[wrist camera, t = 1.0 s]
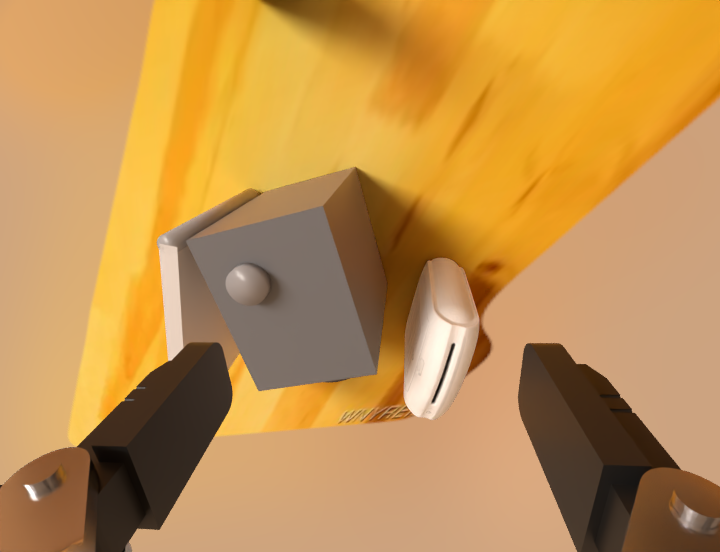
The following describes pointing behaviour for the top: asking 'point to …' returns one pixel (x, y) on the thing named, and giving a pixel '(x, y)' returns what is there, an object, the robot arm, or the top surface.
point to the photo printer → (439, 338)
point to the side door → (194, 286)
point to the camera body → (299, 282)
